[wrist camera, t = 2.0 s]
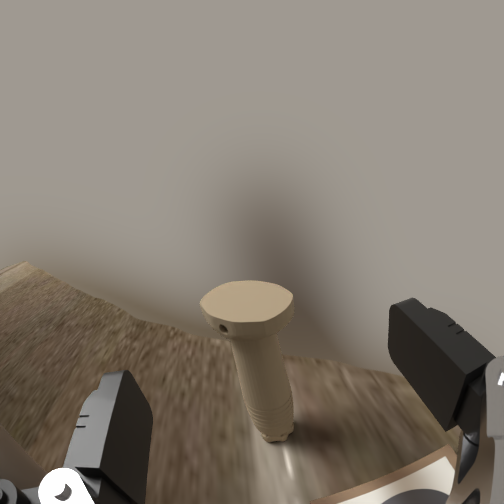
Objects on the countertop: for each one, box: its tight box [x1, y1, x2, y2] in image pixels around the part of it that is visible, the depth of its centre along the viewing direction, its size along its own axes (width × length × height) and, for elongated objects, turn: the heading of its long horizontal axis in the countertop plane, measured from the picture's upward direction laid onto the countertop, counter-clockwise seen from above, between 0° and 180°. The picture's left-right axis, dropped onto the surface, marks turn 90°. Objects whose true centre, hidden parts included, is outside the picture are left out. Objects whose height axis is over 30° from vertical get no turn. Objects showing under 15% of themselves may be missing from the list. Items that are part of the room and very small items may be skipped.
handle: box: [200, 281, 294, 442], centre depth 23 cm, size 5×6×15 cm
